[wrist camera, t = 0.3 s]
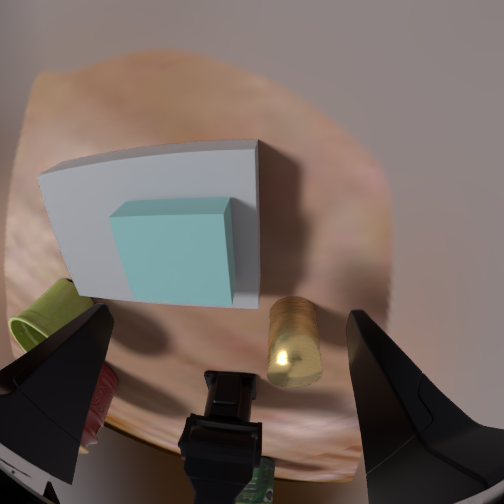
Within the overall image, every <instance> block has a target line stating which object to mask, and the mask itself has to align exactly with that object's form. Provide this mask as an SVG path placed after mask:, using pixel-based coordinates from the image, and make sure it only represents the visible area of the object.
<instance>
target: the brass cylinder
mask: <svg viewBox="0 0 504 504" xmlns="http://www.w3.org/2000/svg"><path fill="white" fill-rule="evenodd" d="M321 375H322V363H321V354H320V345H319V336H318V328H317V320H316V313H315V308H314V306H313V304H312V303H311V302H310V301H308V300H307V299H304V298H301V297H286V298H283V299H280V300H278V301H277V302H276V303H274V304H273V306H272V307H271V309H270V315H269V340H268V362H267V377H268V379H269V380H270V381H271V382H272V383H274V384H275V385H278V386H281V387H287V388H298V387H304V386H307V385H310V384H312V383H314V382H316V381H317V380H318V379H319V378H320V377H321Z"/></svg>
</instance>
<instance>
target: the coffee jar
mask: <svg viewBox="0 0 504 504" xmlns="http://www.w3.org/2000/svg"><path fill="white" fill-rule="evenodd" d="M274 472H275V463H274V461H273V460H271V459H269V458H266V457H261V462H260V467H259V469H254V472H253V478H252V480H251V481H250V483H249V484H248V485H247V486H246V488H245V489H244V490H243V491H242V492H241V493H240V494H239V496H238V497H237V501H236V504H272V494H273V482H274Z"/></svg>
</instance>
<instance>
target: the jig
mask: <svg viewBox="0 0 504 504" xmlns="http://www.w3.org/2000/svg"><path fill="white" fill-rule="evenodd" d="M37 177H38V181H39V185H40V189H41V192H42V196H43V200H44V203H45V207H46V210H47V213H48V216H49V219H50V223H51V226H52V229H53V232H54V234H55V237H56V240H57V243H58V246H59V248H60V251H61V253H62V256H63V259H64V261H65V264H66V266H67V268H68V271H69V273H70V275H71V278H72V280H73V282H74V285H75V287H76V289H77V291H78V293H79V295H80V296H88V297H97V298H105V299H115V300H124V301H135V302H146V303H158V304H171V305H185V306H202V307H221V308H247V309H259V297H260V284H261V263H260V207H259V161H258V139H243V140H217V141H201V142H188V143H177V144H167V145H158V146H149V147H142V148H135V149H128V150H121V151H115V152H109V153H103V154H98V155H93V156H88V157H83V158H78V159H73V160H69V161H64V162H61V163H59V164H58V165H56V166H54V167H52V168H50V169H48V170H46V171H45V172H43V173H41V174H39V175H37ZM207 197H230V203H231V217H232V231H233V245H234V258H235V271H236V288H235V293H234V298H233V304H232V306H220V305H200V304H183V303H169V302H156V301H143V300H134V297H133V294H132V291H131V289H130V286H129V283H128V280H127V277H126V274H125V271H124V268H123V265H122V262H121V259H120V256H119V252H118V249H117V246H116V242H115V239H114V235H113V232H112V228H111V225H110V221H109V216H111V215H112V214H113V213H114V212H115V211H116V210H117V209H118V208H119V207H120V206H121V205H122V204H124V203H125V202H126V201H137V200H154V199H176V198H207Z"/></svg>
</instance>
